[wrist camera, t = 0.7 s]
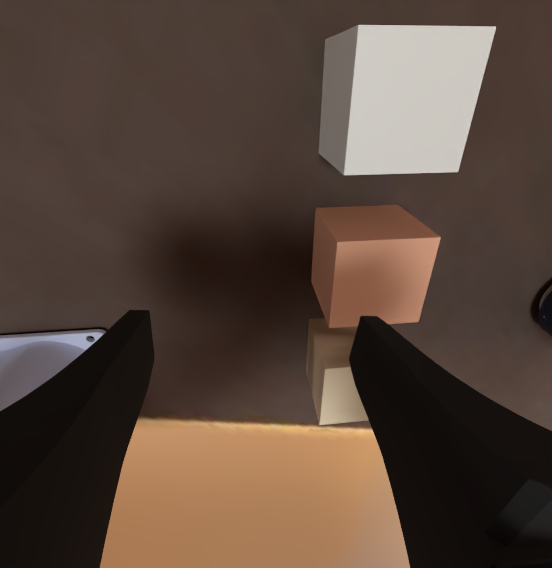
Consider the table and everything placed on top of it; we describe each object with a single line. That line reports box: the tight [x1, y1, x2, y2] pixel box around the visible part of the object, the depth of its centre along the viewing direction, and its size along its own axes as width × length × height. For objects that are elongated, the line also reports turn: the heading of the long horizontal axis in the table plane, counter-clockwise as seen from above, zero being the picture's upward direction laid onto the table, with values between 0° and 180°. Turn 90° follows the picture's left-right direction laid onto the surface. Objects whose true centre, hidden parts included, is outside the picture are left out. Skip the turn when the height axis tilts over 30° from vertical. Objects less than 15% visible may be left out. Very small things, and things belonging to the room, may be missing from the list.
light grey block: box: [319, 25, 496, 175], centre depth 15 cm, size 5×5×5 cm
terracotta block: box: [311, 205, 441, 328], centre depth 19 cm, size 5×5×5 cm
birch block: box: [306, 318, 369, 425], centre depth 23 cm, size 5×5×5 cm
